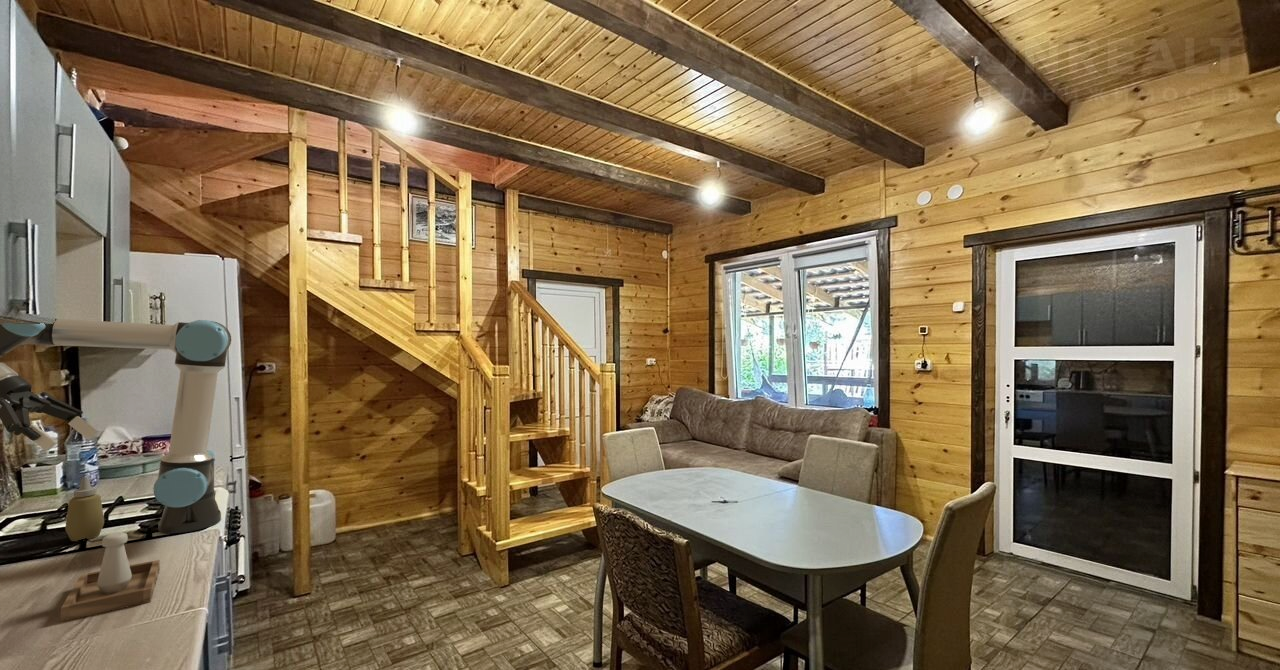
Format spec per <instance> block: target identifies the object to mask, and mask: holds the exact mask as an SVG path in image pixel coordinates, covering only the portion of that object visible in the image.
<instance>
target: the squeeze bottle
mask: <svg viewBox="0 0 1280 670" xmlns="http://www.w3.org/2000/svg"><path fill="white" fill-rule="evenodd" d="M104 524H105V517H104V509H103V503H102V498H101V495H99V494H97V487H94V486H93V487H92V485H91V482H90V479H89V476H82V477H81V481H80V484H79V488H78V489H75V490H73V497H71V498H70V499H69V500H68V507H67V514H66V521H65V528H64V529H65V532H66V534H67V535H68V538H69V540H70V541H71V542H79V541H78V540H81V539H85V538H87V539H88V540H91V539H95V538H96V537H99V536H100V534H101V532H102V529H103V527H104Z"/></svg>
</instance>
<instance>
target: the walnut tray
mask: <svg viewBox="0 0 1280 670" xmlns="http://www.w3.org/2000/svg"><path fill="white" fill-rule="evenodd" d="M160 561H161V560H160V559H157V560H150V561H147V562H141V563H136V564H129V566H130V570H131V574H132V577H131V580H130V582H129V584H128V586H127V588H126V589H124V590H122V591H120V592H116V593H111V594H104V593H102V592H101V591H100V589H99V588H98V586H97V581H98V577H99V573H100V570H99V571H93V572H87V573H82V574H80V576H79V577H78V579H77V581H75V584H74V586H73V587H72V590H70V592H69V594H68V595H67V597H66V599H65V600H64V602H63V604H62V605H61V607H60V615H61V616H60V622H61V623H63V622H67V621H71V620H75V619H79V618H85V617H89V616H94V615H97V613H99V614H102V612H103V613H106V612H105V611H108V612H110V611H109V610H112V611H115V610H114V609H117V610H119V609H118V608H121V609H123V608H122V607H126V606H130V607H133V606H132V605H135V606H138V605H137V604H139V605H143V604H147V603H151V602H152V598H153V595H154V591H155V589H154V588H156V585H157V582H156V581H158V578H159V575H158V574H160V572H159V571H160V567H161V566H160V564H161V563H160ZM126 608H127V607H126Z"/></svg>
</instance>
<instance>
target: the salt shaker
mask: <svg viewBox="0 0 1280 670" xmlns="http://www.w3.org/2000/svg"><path fill="white" fill-rule="evenodd" d="M128 538H129V536H128V533H126V532H123V531H121V532H114V533H111V534H110V533H109V534H106V535H105V536H104V537H103V538H102V540H101V545H102V547H104V548H105V549H104V552H103V557H102V562H101V566H100V570H99V571H100V573H99V577H98V581H97V586H98V588H99V589H100V591H101V592H102V593H104V594H111V593H116V592H120V591H122V590H124V589H126V588H127V586H128V584H129V582H130V580H131V577H132V574H131V570H130V566H129V565H130V562H129V560H128V556H127V553H126V547H125V544H126V543H127V542H128Z"/></svg>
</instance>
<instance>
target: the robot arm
mask: <svg viewBox="0 0 1280 670" xmlns="http://www.w3.org/2000/svg"><path fill="white" fill-rule="evenodd" d="M54 319H55V322H54V323H53V324H48V325H45V324H44V323H40V324H13V323H12V324H11V323H5V324H0V358H2V357H3V356H5V355H7V353H10V352H11V351H13V350H14V349H16V348H17V347H19V346H24V345H25V346H26V345H38V346H39V345H41V346H66V347H67V346H73V347H74V346H75V347H76V346H77V347H94V348H95V347H97V348H98V347H99V348H117V349H118V348H123V349H124V348H125V349H146V350H148V349H151V350H170V351H172V352H174V353H175V360H174V366H176V367H177V368H178V369H179V371H180V373H179V380H178V387H177V393H176V401H175V408H174V414H173V420H172V427H171V428H172V429H171V435H170V442H169V446H168V447H169V448H168V452H167V453H166V454H164V456H162V457H161V458H160V463H159V467H158V475H157V479H156V480H155V482H154V485H153V488H152V489H153V495H154V498H155V499H156V500H157V502H159V503H160V504H161V505H163V506H164V509H163V512H162V515H161V518H160V520H159V521H158V527H157V528H158V532H159V533H162V534H181V533H189V532H195V531H198V530H203V529H206V528H209V527H212V526H214V525H216V524H218V523H219V522H221V520H222V512H221V510H220V508H219V506H218V503H217V501H216V498H215V461H216V458H215V452H213V451H212V450H207V449H208V442H209V437H210V428H211V422H212V415H213V407H214V402H215V401H214V400H215V393H216V386H217V380H218V373H219V372H220V371H222V370H223V369H225V367H226V361H227V355H228V349H229V348H230V346H231V344H232V336H231V333H230V330H229V329H228V328H227V327H226V326H225V325H223V324H221V323H220V322H216V321H213V320H207V319H205V320H203V319H198V320H194V321H190V322H183V321H181V322H178V321H177V322H176V323H175V324H160V323H159V324H158V323H157V324H155V323H142V322H141V323H140V322H121V321H101V320H88V319H87V320H86V319H85V320H84V319H66V318H54ZM32 388H33V385H32V384H31V383H30V382H29V381H28V380H26V379H25V378H24V377H23V376H21V375H19V373H18V372H16V371H15V370H14V369H12V367H9V366H8V365H7V364H6V363H4V361H2V360H1V359H0V421H1V423H2V425H3V426H4V428H5V429H6V432H7V433H10V434H13V435H15V436H20V435H21V434H22V435H24V436H25V437H27V438H28V439H29V440H31V441H32V442H34V444H36V445H38V446H39V447H40V448H41V449H42V450H44V451H45V452H48V451H50V450H51V449H52V448H53V447H54V446H56V445H57V444H58V443H59V442H58V441H57V440H56V439H54V438H53V437H52V436H50V435H49V434H48V433H46V432H45V431H43V430H42V429H41V428H40V427H39V426H37V425H36V424H33V425H31V420H30V414H29V413H37V414H41V413H42V414H45V415H49V416H51V417H54V418H57V419H61V420H63V421H66V422H68V423H67V424H68V425H69V426H70V427H71V428H73V429H74V430H75V431H76V432H78V433H79V434H80V435H82V436H83V437H84V438H86V439H87V440H89V441H90V440H92V439H93V438H94V437H95V436H96V435H97V434H99V431H98V430H97V429H96V428H94V427H93V426H92V425H91V424H90V423H88V422H87V421H85V419H83V418H82V417H81V416H82V415H83V414H84V412H83V411H82V410H81V409H79V408H76V407H74V406H72V405H70V404H68V403H67V402H64V401H63V400H60V399H57V398H56V397H53V396H51V394H49V393H48V392H46V391H42V392H41V393H40V394H36V393H34V392H32Z"/></svg>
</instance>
